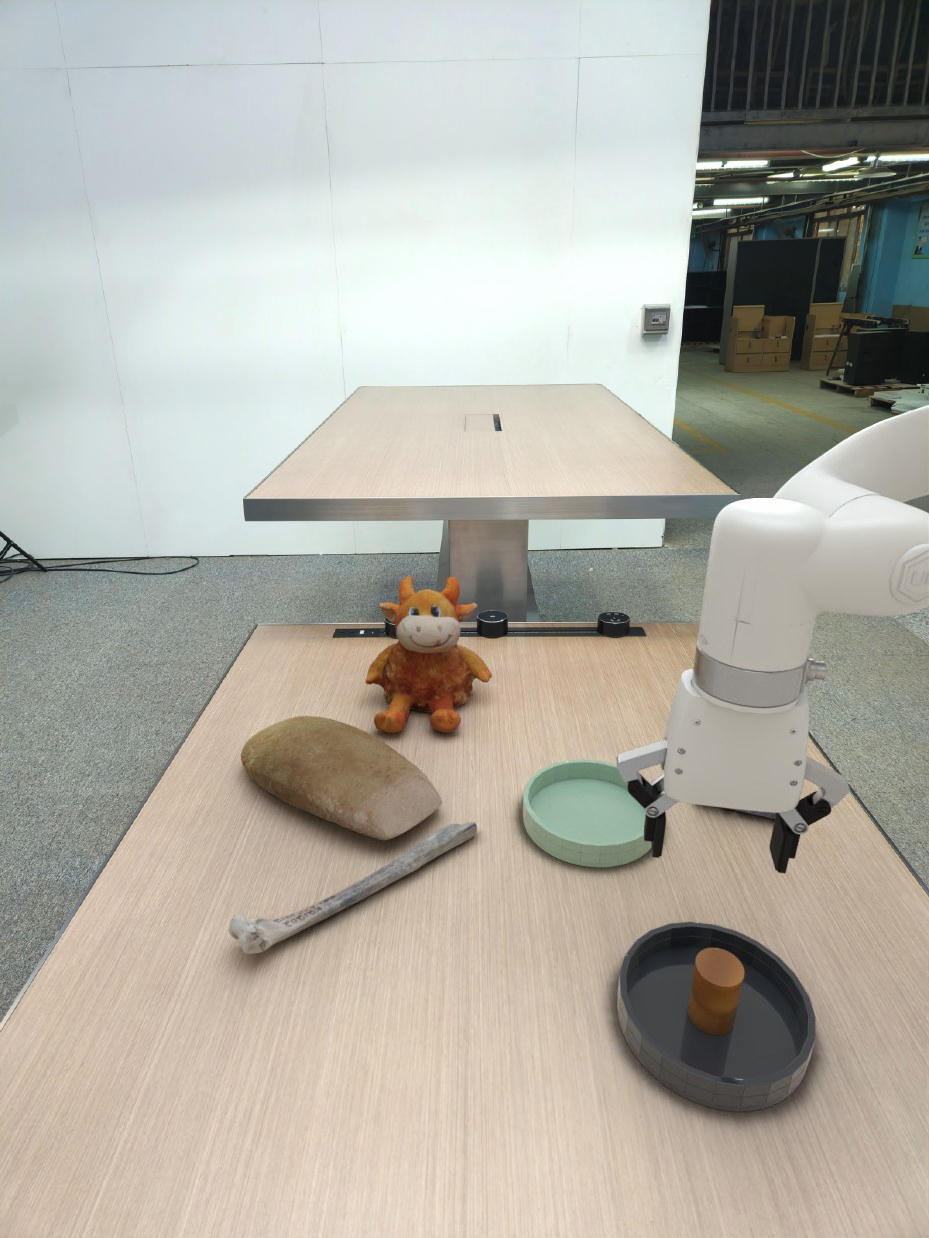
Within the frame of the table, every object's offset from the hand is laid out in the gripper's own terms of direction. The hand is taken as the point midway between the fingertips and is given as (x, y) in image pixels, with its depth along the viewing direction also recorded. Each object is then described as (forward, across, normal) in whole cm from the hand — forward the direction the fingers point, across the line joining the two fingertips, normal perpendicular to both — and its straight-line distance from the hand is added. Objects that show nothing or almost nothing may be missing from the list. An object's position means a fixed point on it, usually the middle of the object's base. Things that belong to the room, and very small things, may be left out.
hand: (715, 853), depth 62 cm
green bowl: (+17, +10, -23) cm, 30 cm away
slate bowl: (+17, -2, +2) cm, 17 cm away
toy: (+17, +36, -47) cm, 62 cm away
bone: (+17, +33, -7) cm, 38 cm away
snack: (+16, -2, +2) cm, 16 cm away
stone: (+17, +43, -24) cm, 52 cm away
